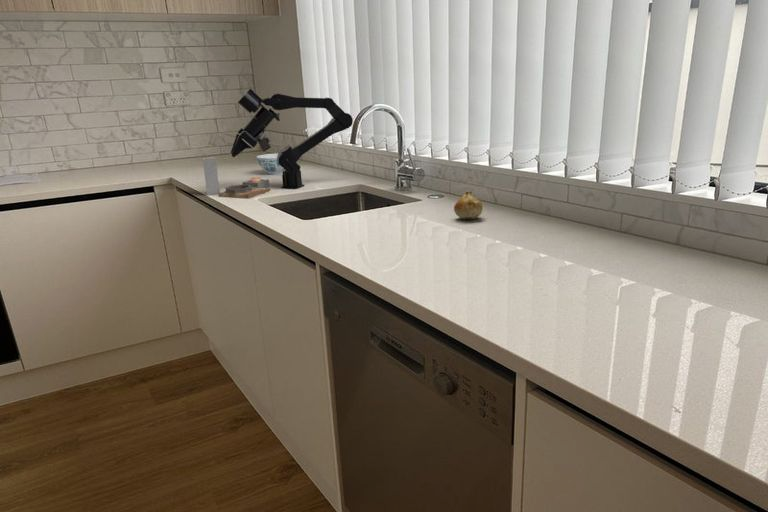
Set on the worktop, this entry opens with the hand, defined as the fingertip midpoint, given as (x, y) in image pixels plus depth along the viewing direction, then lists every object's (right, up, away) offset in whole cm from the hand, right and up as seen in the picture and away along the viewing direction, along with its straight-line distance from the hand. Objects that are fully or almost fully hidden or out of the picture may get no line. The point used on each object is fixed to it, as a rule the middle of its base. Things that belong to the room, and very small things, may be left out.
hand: (232, 154), depth 208 cm
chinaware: (+8, -1, +44) cm, 44 cm away
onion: (+79, -26, -47) cm, 96 cm away
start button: (+6, -9, +11) cm, 16 cm away
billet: (-7, -14, +2) cm, 16 cm away
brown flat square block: (+5, -14, 0) cm, 15 cm away
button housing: (+6, -10, +12) cm, 17 cm away
